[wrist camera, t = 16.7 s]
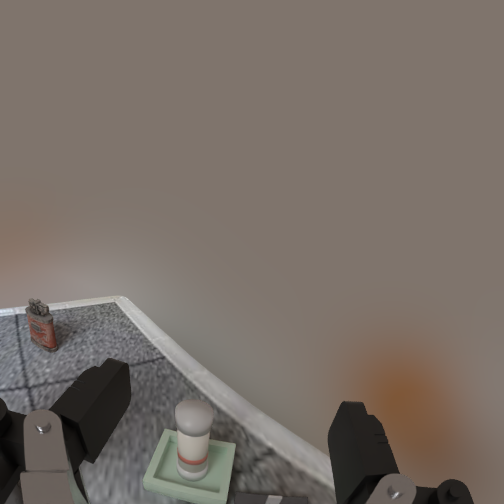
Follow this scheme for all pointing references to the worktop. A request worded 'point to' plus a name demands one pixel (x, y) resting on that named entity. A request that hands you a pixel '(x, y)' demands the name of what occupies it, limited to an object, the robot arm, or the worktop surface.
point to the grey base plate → (267, 499)
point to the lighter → (41, 326)
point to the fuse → (193, 438)
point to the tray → (172, 485)
